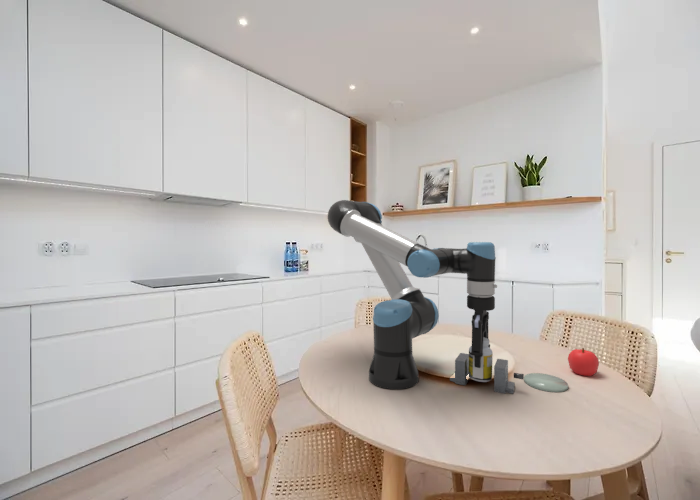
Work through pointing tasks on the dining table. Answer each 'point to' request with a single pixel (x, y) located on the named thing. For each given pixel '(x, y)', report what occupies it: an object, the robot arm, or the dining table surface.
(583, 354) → the apple
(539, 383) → the pale green round disc
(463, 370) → the vise
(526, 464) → the dining table surface
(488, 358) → the pill bottle
